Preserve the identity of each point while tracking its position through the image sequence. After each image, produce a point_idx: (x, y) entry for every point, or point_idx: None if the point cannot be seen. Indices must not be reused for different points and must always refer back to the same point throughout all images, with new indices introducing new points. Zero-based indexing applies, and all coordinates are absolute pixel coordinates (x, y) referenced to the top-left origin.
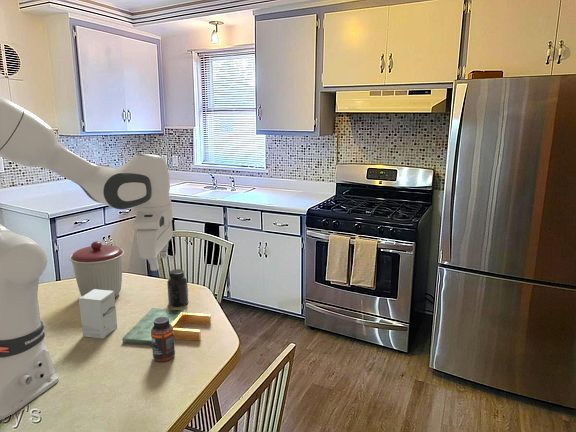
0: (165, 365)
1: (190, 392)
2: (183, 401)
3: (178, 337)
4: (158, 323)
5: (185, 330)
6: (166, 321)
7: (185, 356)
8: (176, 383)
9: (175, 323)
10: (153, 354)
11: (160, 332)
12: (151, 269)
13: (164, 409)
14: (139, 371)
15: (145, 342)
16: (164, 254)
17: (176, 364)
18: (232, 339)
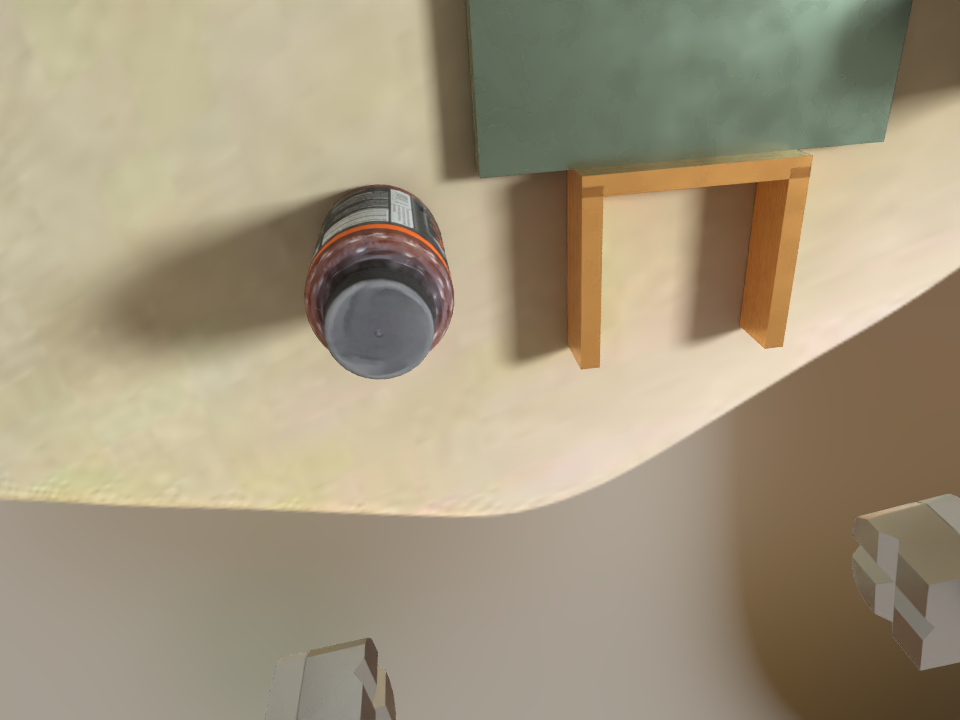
0: None
1: (170, 476)
2: (106, 477)
3: (569, 233)
4: (325, 338)
5: (583, 292)
6: (367, 377)
7: None
8: (200, 400)
9: (663, 190)
10: (329, 214)
11: (317, 330)
12: (279, 674)
13: (25, 436)
14: (212, 182)
15: (472, 64)
16: (893, 611)
17: None
18: (603, 475)
